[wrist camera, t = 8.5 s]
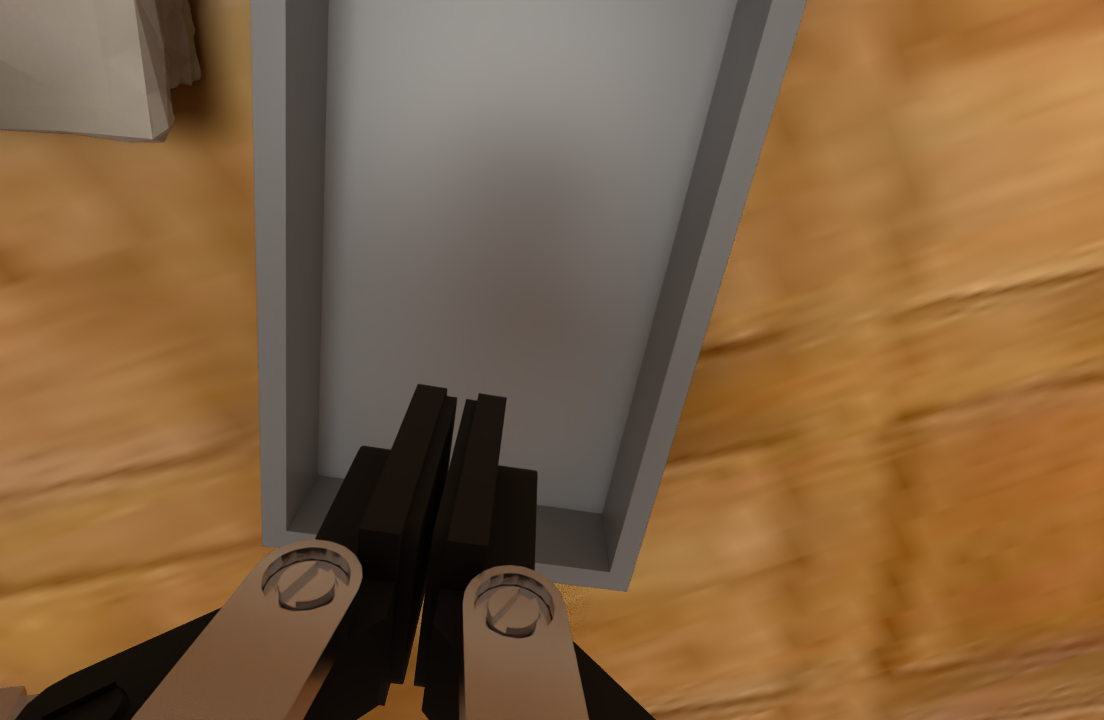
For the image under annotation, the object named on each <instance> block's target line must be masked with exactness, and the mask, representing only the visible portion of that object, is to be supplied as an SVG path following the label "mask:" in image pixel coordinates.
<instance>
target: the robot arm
mask: <svg viewBox="0 0 1104 720" xmlns="http://www.w3.org/2000/svg"><path fill="white" fill-rule="evenodd" d="M506 401H507V397H501V396H495V395H488V394H482V393H479V394H478V399H477V400H471V399H466V401H465V405H464V410H463V414H462V418H461V422H460V426H459V430H458V434H457V438H456V442H455V446H454V450H453V454H452V458H451V462H450V466H449V461H450V454H451V446H452V438H453V430H454V422H455V415H456V407H457V397H451V396H447V388H443V387H436V386H430V385H423V384H418V385H417V387H416V389H415V392H414V394H413V397H412V399H411V402H410V404H409V407H408V409H407V411H406V414H405V416H404V419H403V421H402V424H401V426H400V429H399V431H398V434H397V436H396V438H395V441H394V443H393V446H392V448H391V449H384V448H377V447H370V446H361V447H360V449H359V450H358V452H357V454H356V456H355V458H354V460H353V462H352V464H351V466H350V468H349V470H348V472H347V474H346V476H345V478H344V480H343V483H342V485H341V487H340V489H339V491H338V493H337V495H336V497H335V499H334V501H333V503H332V505H331V507H330V509H329V511H328V513H327V515H326V517H325V519H324V521H323V523H322V525H321V527H320V529H319V532H318V534H317V536H316V538H315V540H305V541H298V542H294V543H291V544H288V545H284V546H282V547H280V548H278V549H276V550H275V551H273V552H271V553H269V554H268V555H267V556H265V557H264V558H263V559H262V560H261V561H260V562H259V563H258V564H257V565H256V566H255V567H254V569H253V570H252V571H251V572H250V574H249V575H248V576H247V577H246V578H245V580H244V581H243V582H242V583H241V585H240V586H239V587H238V588H237V590H236V591H235V592H234V593H233V594H232V596H231V597H230V598H229V599H228V601H227V602H226V603H225V604H224V606H223V607H222V608H219V609H217V610H215V611H213V612H210V613H208V614H206V615H204V616H202V617H199V618H197V619H195V620H193V621H190V622H188V623H186V624H184V625H181V626H179V627H177V628H175V629H172V630H170V631H168V632H166V633H163V634H161V635H159V636H157V637H154V638H152V639H150V640H148V641H145V642H143V643H141V644H139V645H136V646H134V647H132V648H130V649H127V650H125V651H123V652H121V653H118V654H116V655H114V656H112V657H109V658H107V659H105V660H103V661H100V662H98V663H96V664H94V665H92V666H89V667H87V668H85V669H83V670H80V671H78V672H76V673H74V674H71V675H69V676H67V677H66V678H64V679H62V680H60V681H58V682H57V683H55V684H53V685H51V686H49V687H48V688H46V689H45V690H44V691H43V692H41V693H40V694H34V695H27V692H26V689H25V686H18V687H7V688H0V720H357V719H358V718H360V717H361V716H363V715H364V714H366V713H367V712H369V711H371V710H372V709H374V708H375V707H377V706H378V705H382V706H385V702H386V698H387V695H388V691H389V687H390V683H395V684H403V683H404V679H405V675H406V671H407V667H408V662H409V658H410V654H411V650H412V645H413V641H414V637H415V633H416V628H417V624H418V620H419V616H420V611H421V607H422V603H423V599H424V605H423V613H422V621H421V629H420V638H419V646H418V654H417V663H416V671H415V679H414V686H421V687H425V690H424V697H423V705H422V711H423V713H424V714H425V715H426V717H427V718H428V719H429V720H655V719H654V718H653V717H652V716H651V715H650V714H649V713H648V712H647V711H646V710H645V709H644V708H643V707H642V706H641V705H640V704H639V703H638V702H637V701H635V700H634V699H633V698H632V697H631V696H630V695H629V694H628V693H627V692H626V691H625V690H624V689H623V688H622V687H621V686H620V685H619V684H618V683H617V682H615V681H614V680H613V679H612V678H611V677H610V676H609V675H608V674H607V673H606V672H605V671H604V670H603V669H602V668H601V667H600V666H599V665H598V664H597V663H596V662H594V661H593V660H592V659H591V658H590V657H589V656H588V655H587V654H586V653H585V652H584V651H583V650H582V649H581V648H580V647H579V646H578V645H577V644H576V643H574V642H573V640H572V636H571V631H570V626H569V621H568V616H567V612H566V607H565V603H564V601H563V598H562V596H561V593H560V591H559V590H558V589H557V588H556V586H555V585H554V584H553V583H552V582H551V581H550V580H549V579H547V578H546V577H545V576H543V575H542V574H540V573H539V572H536V571H535V545H536V513H537V481H538V472H537V471H536V470H529V469H522V468H515V467H508V466H501V465H498V464H499V456H500V448H501V440H502V432H503V425H504V417H505V409H506ZM448 469H449V470H448ZM424 594H425V596H424Z"/></svg>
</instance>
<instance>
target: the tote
mask: <svg viewBox="0 0 1104 720" xmlns="http://www.w3.org/2000/svg"><path fill="white" fill-rule="evenodd" d="M806 2H807V0H250V5H251V51H252V96H253V141H254V187H255V232H256V277H257V323H258V368H259V413H260V459H261V504H262V546H265V547H273V548H280V547H282V546H284V545H288V544H291V543H294V542H298V541H305V540H315V538H316V536H317V534H318V532H319V529H320V527H321V525H322V523H323V521H324V519H325V517H326V515H327V513H328V511H329V509H330V507H331V505H332V503H333V501H334V499H335V497H336V495H337V493H338V491H339V489H340V487H341V485H342V483H343V480H344V478H345V476H346V474H347V472H348V470H349V468H350V466H351V464H352V462H353V460H354V458H355V456H356V454H357V452H358V450H359V449H360V447H361V446H370V447H377V448H384V449H391V448H392V446H393V443H394V441H395V438H396V436H397V434H398V431H399V429H400V426H401V424H402V421H403V419H404V416H405V414H406V411H407V409H408V407H409V404H410V402H411V399H412V397H413V394H414V392H415V389H416V387H417V385H418V384H423V385H430V386H436V387H443V388H447V396H451V397H457V407H456V415H455V422H454V430H453V438H452V446H451V454H450V461H449V466H450V462H451V458H452V454H453V450H454V446H455V442H456V438H457V434H458V430H459V426H460V422H461V418H462V414H463V410H464V405H465V401H466V399H471V400H477V399H478V394H479V393H482V394H488V395H495V396H501V397H507V401H506V409H505V417H504V425H503V432H502V440H501V448H500V456H499V464H498V465H501V466H508V467H515V468H522V469H529V470H536V471H537V472H538V481H537V513H536V545H535V571H536V572H539V573H540V574H542V575H543V576H545V577H546V578H547V579H549V580H550V581H551V582H552V583H560V584H568V585H576V586H584V587H592V588H600V589H608V590H616V591H624V592H627V590H628V587H629V584H630V580H631V577H632V574H633V570H634V567H635V564H636V561H637V557H638V554H639V551H640V547H641V544H642V541H643V538H644V534H645V531H646V528H647V524H648V521H649V518H650V515H651V511H652V508H653V505H654V501H655V498H656V495H657V492H658V488H659V485H660V482H661V478H662V475H663V472H664V469H665V465H666V462H667V459H668V455H669V452H670V449H671V446H672V442H673V439H674V436H675V432H676V429H677V426H678V423H679V419H680V416H681V413H682V409H683V406H684V403H685V400H686V396H687V393H688V390H689V386H690V383H691V380H692V377H693V373H694V370H695V367H696V363H697V360H698V357H699V354H700V350H701V347H702V344H703V340H704V337H705V334H706V331H707V327H708V324H709V321H710V317H711V314H712V311H713V308H714V304H715V301H716V298H717V294H718V291H719V288H720V285H721V281H722V278H723V275H724V271H725V268H726V265H727V262H728V258H729V255H730V252H731V248H732V245H733V242H734V239H735V235H736V232H737V229H738V225H739V222H740V219H741V216H742V212H743V209H744V206H745V202H746V199H747V196H748V193H749V189H750V186H751V183H752V179H753V176H754V173H755V169H756V166H757V163H758V160H759V156H760V153H761V150H762V146H763V143H764V140H765V137H766V133H767V130H768V127H769V123H770V120H771V117H772V114H773V110H774V107H775V104H776V100H777V97H778V94H779V91H780V87H781V84H782V81H783V77H784V74H785V71H786V68H787V64H788V61H789V58H790V54H791V51H792V48H793V45H794V41H795V38H796V35H797V31H798V28H799V25H800V22H801V18H802V15H803V12H804V8H805V5H806ZM448 470H449V469H448Z"/></svg>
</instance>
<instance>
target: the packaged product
mask: <svg viewBox="0 0 1104 720" xmlns="http://www.w3.org/2000/svg"><path fill="white" fill-rule="evenodd" d="M194 34H195V27H194V24H193V21H192V15H191V9H190V4H189V2H188V0H0V130H4V131H23V132H41V133H60V134H77V135H83V136H90V137H97V138H104V139H111V140H118V141H124V142H165V140H166V138H167V136H168V133H169V131H170V129H171V127H172V125H173V123H174V121H175V116H174V114H173V109H172V101H171V95H170V89H172V88H175V87H177V86H178V85H180V84H186V85H192V82H193V81H196V80H199V79H201V70H200V66H199V62H198V58H197V54H196V50H195V44H194V38H193V37H194Z"/></svg>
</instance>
